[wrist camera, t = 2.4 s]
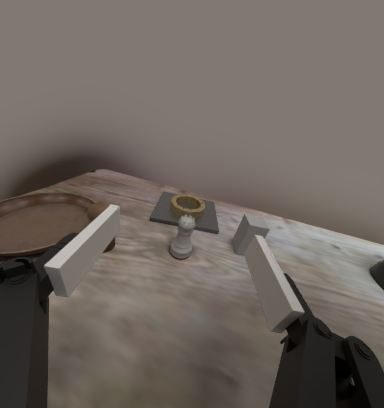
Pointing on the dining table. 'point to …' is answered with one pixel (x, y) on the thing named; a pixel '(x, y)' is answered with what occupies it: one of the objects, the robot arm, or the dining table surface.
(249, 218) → the grey block
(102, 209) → the walnut peg
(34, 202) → the plant saucer
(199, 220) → the ring plate
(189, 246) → the rook chess piece
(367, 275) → the dining table surface
